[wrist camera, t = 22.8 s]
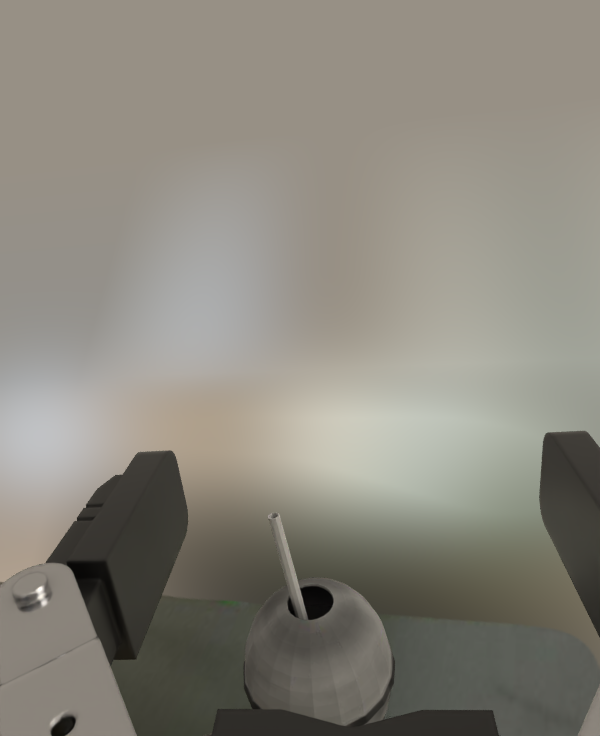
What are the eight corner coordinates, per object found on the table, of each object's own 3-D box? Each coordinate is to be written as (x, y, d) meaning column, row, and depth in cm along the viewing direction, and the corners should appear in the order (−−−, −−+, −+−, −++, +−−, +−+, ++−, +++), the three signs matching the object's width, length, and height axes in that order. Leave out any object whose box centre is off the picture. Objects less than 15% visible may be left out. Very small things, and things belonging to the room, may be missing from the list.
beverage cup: (388, 918, 27) (360, 599, 19) (251, 862, 30) (179, 563, 22) (414, 766, 33) (402, 480, 25) (299, 731, 36) (257, 463, 28)
